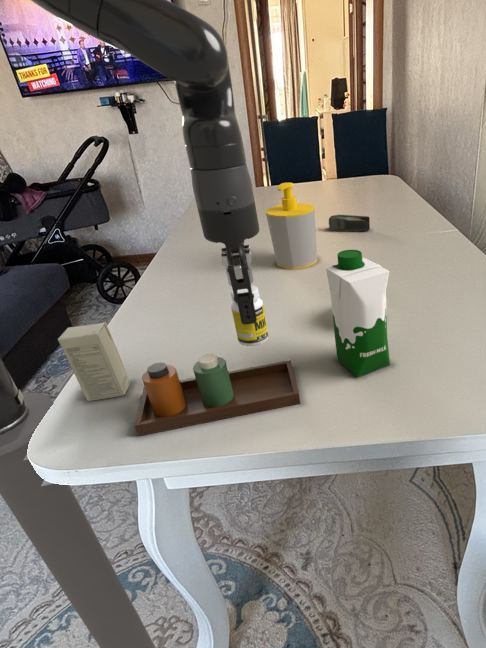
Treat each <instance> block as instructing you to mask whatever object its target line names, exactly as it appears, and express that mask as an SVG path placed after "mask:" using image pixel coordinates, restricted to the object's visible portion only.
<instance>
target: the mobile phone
mask: <svg viewBox="0 0 486 648" xmlns="http://www.w3.org/2000/svg"><path fill="white" fill-rule="evenodd" d="M370 221H371V219H370V216H367V215H352V214H351V215H350V214H335V215H331V216H330V217H329V218H328V227H325V228H324V230H325V231H337V232H338V231H339V232H368V231H370V228H371V226H370V225H371V224H370Z"/></svg>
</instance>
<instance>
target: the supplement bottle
mask: <svg viewBox="0 0 486 648" xmlns="http://www.w3.org/2000/svg"><path fill="white" fill-rule="evenodd" d="M251 288H252V294H254V298H253V299H254V301H253V302H254V308H255V313H256V318H257V321H256V323H253V324H247V325H244V324H242V322H241V318H240V313H239V308H238V303H236V302H235V301H234V294H233V289H231V291H230V295H231V300H232V303H231V306H230V308H231V313H232V318H233V322H234V325H235V326H234V327H235V332H236V336H237V341H238V344H240V345H241V346H245V347H255V346H259V345H262V344H265V342H267V341H268V339H269V336H270V335H269V330H268V323H267V319H266V313H265V306H264V301H263V300H262V298H260V291H259V288H258V286H256V285H252V284H251ZM244 292H248V289H241V290H238V293H244Z"/></svg>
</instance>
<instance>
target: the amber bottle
mask: <svg viewBox="0 0 486 648" xmlns="http://www.w3.org/2000/svg"><path fill="white" fill-rule="evenodd" d="M180 380H181V379H180V378H179V374H178V371H177V368H176V367H175V366H173V365H170V364H167V363H166V362H155V363H152V364H151V365H148V367H147V369H146V371H145V372H144V373H143V374H142V376H141V381H142V384H143V387H145V389H146V392H147V394H148V397H149V400H150V403H151V406H152V408H153V411H154V413H155V415H157V416H159V417H168V416H173V415H175V414H178V413H179V412H181V411H182V410H183V409H184V408H185V407H186V400H185V396H184V393H183V390H182V387H181V383H180Z"/></svg>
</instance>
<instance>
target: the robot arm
mask: <svg viewBox="0 0 486 648" xmlns="http://www.w3.org/2000/svg"><path fill="white" fill-rule="evenodd" d="M30 1H31V2H33V3H34V4H35V5H37V6H39V7H40V8H41V9H43V10H44V11H46V12H48V13H49V14H51V15H53V16H54V17H56V18H57V19H60V20H61V21H63V22H65V23H67V24H68V25H70V26H72V27H74V28H76V29H78V30H80V31H81V32H83V33H85V34H87V35H89V36H91V37H93V38H95V39H97V40H98V41H100V42H102V43H105V44H106V45H109V46H111V47H113V48H115V49H118V50H120V51H123V52H125V53H128V54H129V55H131V56H132V57H134V58H135V59H137V60H138V61H140V62H141V63H143V64H145V65H146V66H148V67H149V68H151V69H153V70H155V71H156V72H158V73H160V74H161V75H163V76H164V77H166V78H167V79H170V80H171V81H173V82H174V86H175V90H176V94H177V99H178V102H179V108H180V110H181V115H182V124H181V127H182V128H181V129H182V136H183V137H182V138H183V143H184V146H185V151H186V155H187V160H188V164H189V168H190V175H191V185H192V191H193V195H194V199H195V204H196V208H197V212H198V216H199V220H200V225H201V229H202V234H203V238H204V239H205V240H206V241H208V242H211V243H215V244H219V243H220V244H223V245H224V247H221V248H220V249H221V250H220V251H221V254H220V255H221V261H222V265H223V266H224V267H225V272H226V277H227V282H228V285H229V286H230V287H231V288H232V289H231V290H233V294H234V301H235V302H236V303H238V308H239V313H240V318H241V322H242V324H244V325H247V324H253V323H256V321H257V318H256V313H255V308H254V302H253V301H254V299H253V298H254V294H252V288H251V285H252V284H253V283H254V281H255V280H254V273H253V267H252V262H253V259H252V254H251V247H250V244H245V240H250V239H252V238H255V237H256V236H258V234H259V232H260V223H259V218H258V212H257V208H256V200H255V195H254V188H253V183H252V179H251V175H250V172H249V169H248V166H247V159H246V153H245V148H244V147H245V146H244V142H243V137H242V131H241V129H240V124H239V121H238V119H237V115H236V109H235V100H234V91H233V84H232V76H231V67H230V60H229V54H228V53H229V52H228V50H227V46H226V43H225V41H224V39H223V37H222V35H221V34H220V33H219V32H218V31H217V30H216V29H215V27H213V25H211V24H210V23H209V22H208V21H206V20H205V19H202V18H201V17H199V16H197V14H194V13H192V12H190V11H188V10H187V9H185V8H182V7H181V6H180V5H177V4H176V3H174V2H172V1H169V0H30ZM241 289H248V292H244V293H238V290H241ZM22 393H23V392H22V391H21V388H20V389H18V387H17V386H16V383H15V382H14V380H13V378H12V376H11V374H10V373H9V370H8V368H7V366H6V365H5V363H4V361H3V359H2V358H1V356H0V435H1V434H3V433H6V432H8V431H10V430H11V429H13V428H15V427H16V426H18V425H19V424H20V423H22V422H23V421H24V420H25V419H26V417H27V416H28V414H29V409H28V407H27V405H26V403H25V402H24V400H23V397H24V396H23V394H22Z"/></svg>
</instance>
